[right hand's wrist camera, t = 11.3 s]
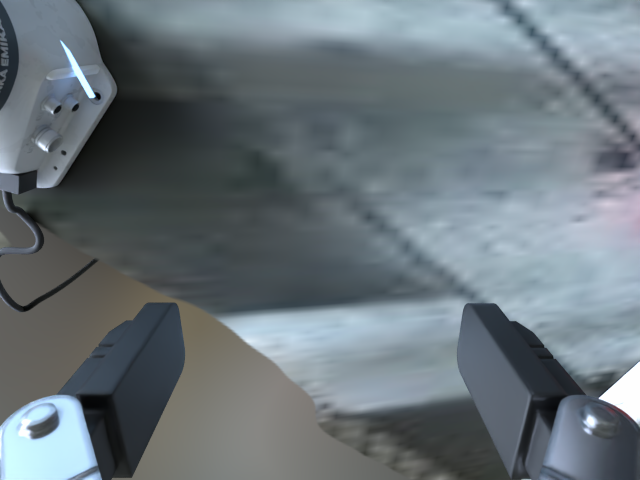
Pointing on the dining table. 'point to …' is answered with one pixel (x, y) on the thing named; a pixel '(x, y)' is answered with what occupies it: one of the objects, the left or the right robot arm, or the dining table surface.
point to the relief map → (626, 394)
